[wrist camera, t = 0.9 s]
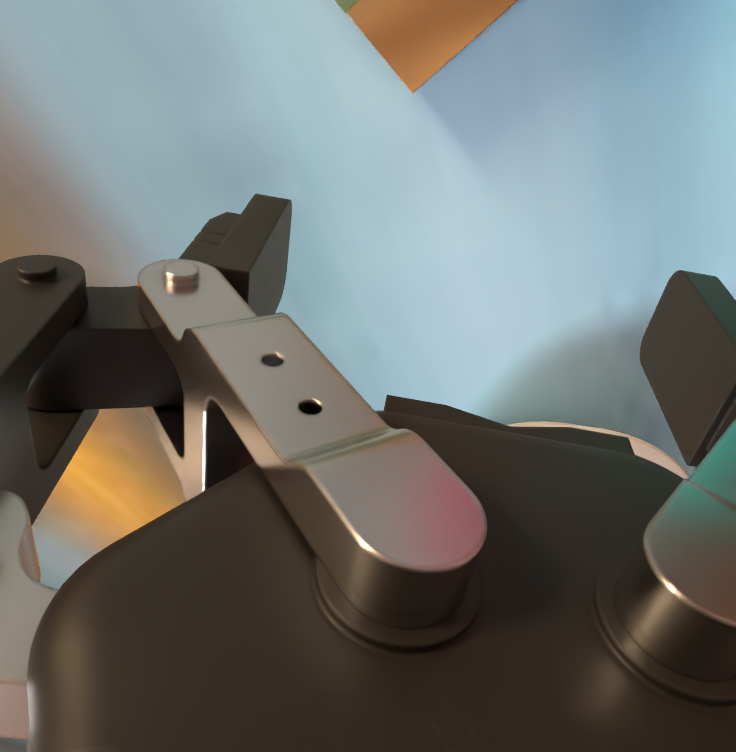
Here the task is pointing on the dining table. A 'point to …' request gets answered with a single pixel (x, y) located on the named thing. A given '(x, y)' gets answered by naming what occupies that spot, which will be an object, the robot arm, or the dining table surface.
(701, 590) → the robot arm
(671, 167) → the dining table surface
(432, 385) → the dining table surface
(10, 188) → the dining table surface
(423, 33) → the oak board
